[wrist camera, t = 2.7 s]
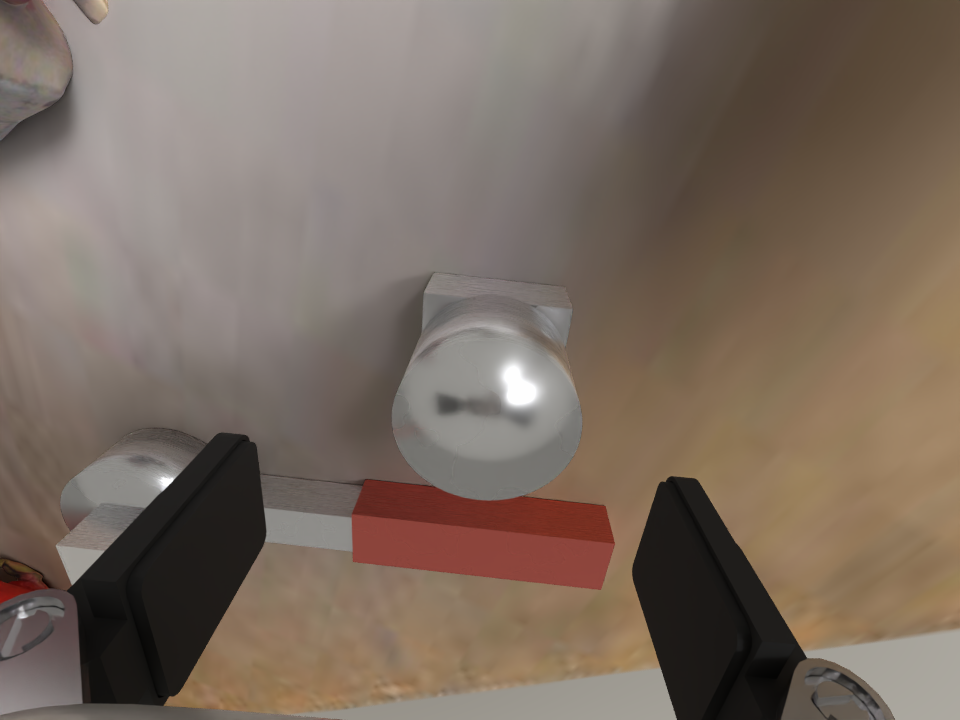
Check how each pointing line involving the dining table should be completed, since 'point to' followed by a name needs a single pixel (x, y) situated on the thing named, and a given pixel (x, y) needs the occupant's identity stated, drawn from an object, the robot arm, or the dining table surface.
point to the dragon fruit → (19, 580)
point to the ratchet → (351, 519)
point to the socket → (489, 388)
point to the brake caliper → (34, 58)
